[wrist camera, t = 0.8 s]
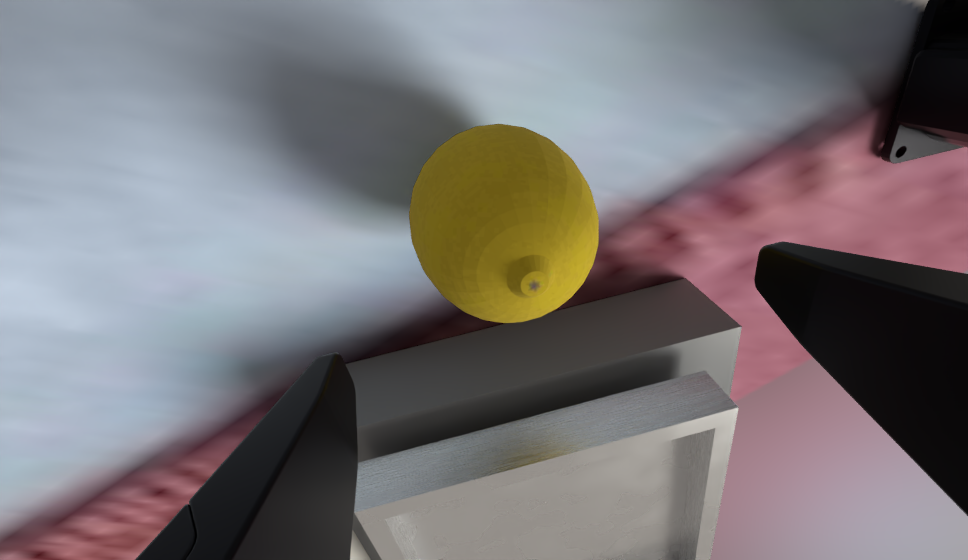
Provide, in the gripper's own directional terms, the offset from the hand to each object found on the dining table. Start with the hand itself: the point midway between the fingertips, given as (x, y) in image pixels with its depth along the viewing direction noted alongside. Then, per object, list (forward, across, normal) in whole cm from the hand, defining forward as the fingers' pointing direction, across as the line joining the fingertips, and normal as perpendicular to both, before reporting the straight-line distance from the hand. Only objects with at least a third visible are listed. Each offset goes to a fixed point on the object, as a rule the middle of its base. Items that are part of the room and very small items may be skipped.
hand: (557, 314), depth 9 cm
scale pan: (+4, 0, +15) cm, 16 cm away
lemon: (+9, 0, 0) cm, 9 cm away
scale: (+9, 0, +15) cm, 18 cm away
